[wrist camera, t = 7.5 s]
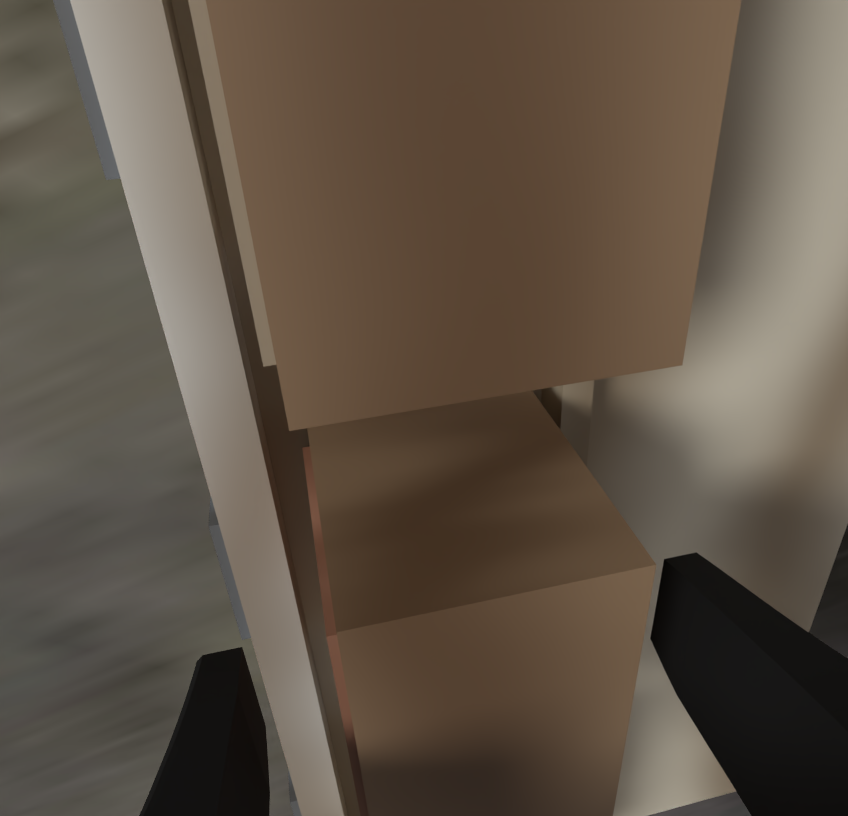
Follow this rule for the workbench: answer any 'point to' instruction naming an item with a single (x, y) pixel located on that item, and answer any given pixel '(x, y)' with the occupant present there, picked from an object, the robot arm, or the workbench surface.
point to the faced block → (464, 189)
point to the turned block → (476, 611)
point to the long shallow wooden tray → (567, 405)
